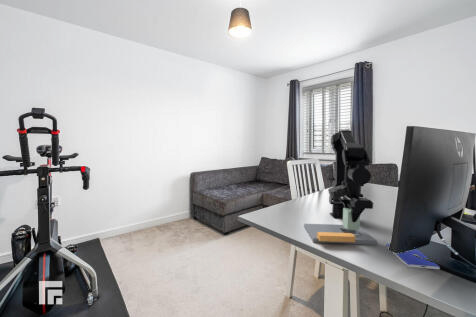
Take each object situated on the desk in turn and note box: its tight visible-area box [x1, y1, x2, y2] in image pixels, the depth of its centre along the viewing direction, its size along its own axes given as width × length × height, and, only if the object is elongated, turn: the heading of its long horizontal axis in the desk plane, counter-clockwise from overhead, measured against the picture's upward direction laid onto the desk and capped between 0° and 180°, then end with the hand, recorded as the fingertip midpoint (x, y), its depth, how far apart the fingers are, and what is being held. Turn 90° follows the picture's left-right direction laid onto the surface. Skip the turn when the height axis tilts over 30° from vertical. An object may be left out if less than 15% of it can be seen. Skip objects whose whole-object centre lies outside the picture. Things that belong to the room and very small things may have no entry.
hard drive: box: [385, 243, 441, 270], centre depth 68 cm, size 2×8×12 cm
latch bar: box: [317, 232, 355, 242], centre depth 76 cm, size 3×12×2 cm, turn 86°
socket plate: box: [303, 223, 378, 246], centre depth 84 cm, size 14×22×2 cm, turn 86°
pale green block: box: [342, 208, 361, 230], centre depth 83 cm, size 4×4×7 cm
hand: (351, 219), depth 83 cm, fingers closed on pale green block, 4 cm apart
